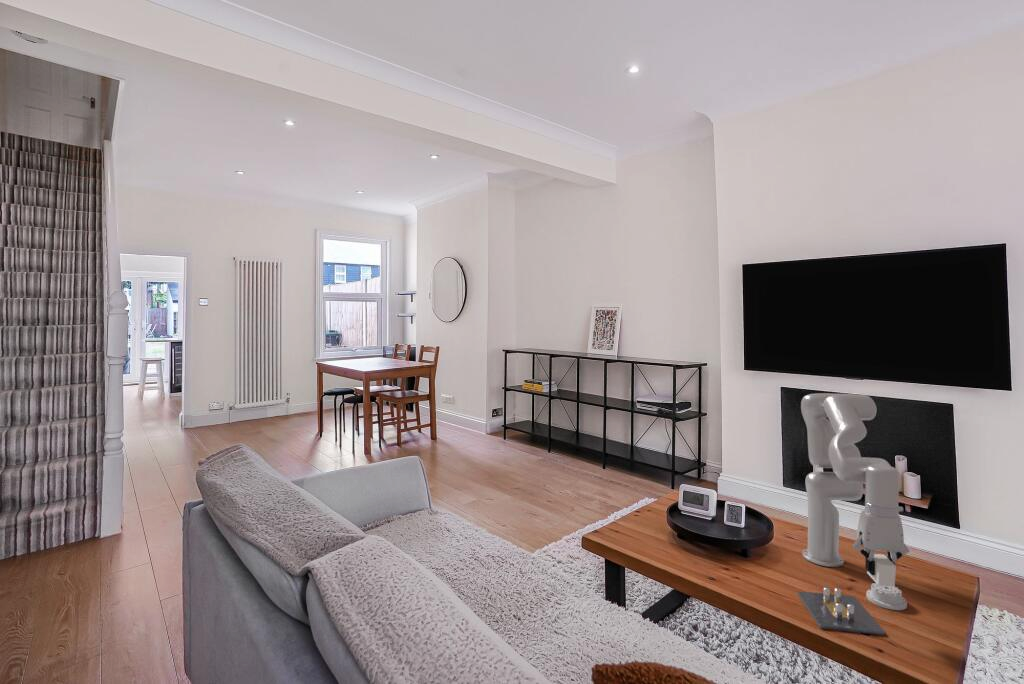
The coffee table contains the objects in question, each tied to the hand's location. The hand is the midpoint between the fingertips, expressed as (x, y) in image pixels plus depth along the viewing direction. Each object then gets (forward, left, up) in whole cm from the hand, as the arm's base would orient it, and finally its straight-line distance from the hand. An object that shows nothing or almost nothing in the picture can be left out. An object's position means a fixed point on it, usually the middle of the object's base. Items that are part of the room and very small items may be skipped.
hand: (879, 572), depth 141 cm
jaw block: (0, 0, -2) cm, 2 cm away
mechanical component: (-14, +8, -15) cm, 22 cm away
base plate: (-4, -9, -15) cm, 18 cm away
